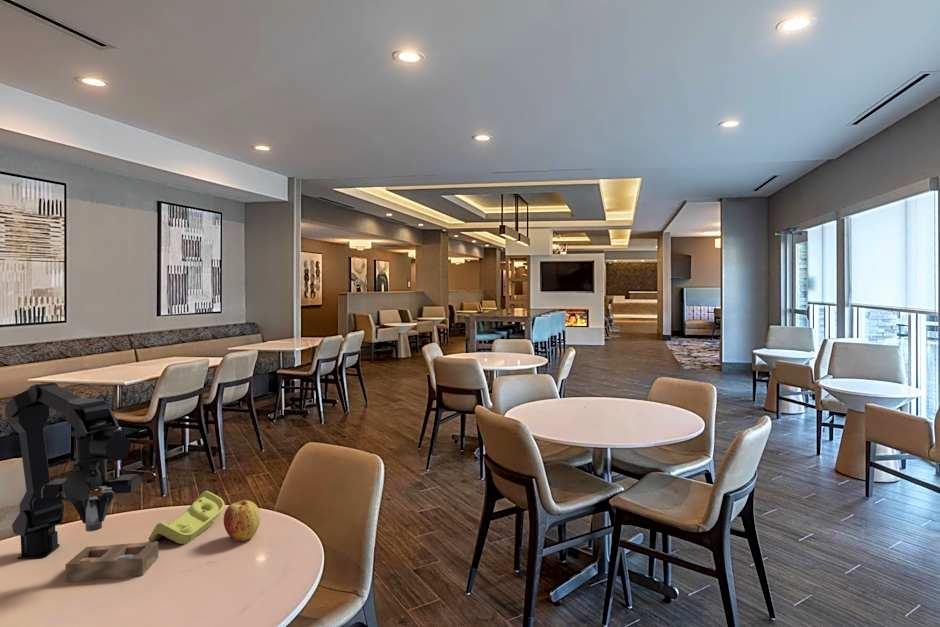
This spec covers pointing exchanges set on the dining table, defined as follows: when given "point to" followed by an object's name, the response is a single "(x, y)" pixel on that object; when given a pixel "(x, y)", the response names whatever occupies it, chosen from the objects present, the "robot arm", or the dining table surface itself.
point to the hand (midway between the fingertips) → (93, 522)
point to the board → (112, 561)
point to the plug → (92, 514)
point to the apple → (242, 520)
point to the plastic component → (191, 520)
